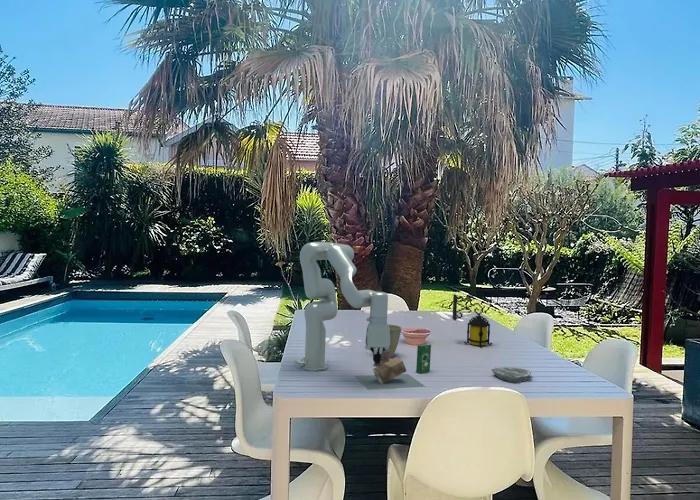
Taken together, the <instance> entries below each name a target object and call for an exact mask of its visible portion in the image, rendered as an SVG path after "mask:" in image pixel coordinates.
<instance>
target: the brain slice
mask: <svg viewBox="0 0 700 500" xmlns="http://www.w3.org/2000/svg"><path fill="white" fill-rule="evenodd" d="M491 371H492V373H493V374H494V375H495V377H497V378H498V379H500V380H501V381H505V382H509V383H521V382H525V381H528V380H529V379H530V377H531V373H532V370H528V369H525V368H521V367H512V366H509V367H508V366H495V367H494V368H491Z"/></svg>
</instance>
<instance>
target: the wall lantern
mask: <svg viewBox="0 0 700 500" xmlns="http://www.w3.org/2000/svg"><path fill="white" fill-rule="evenodd" d="M452 297H453V298H452V320H454V321H457V320H458V319H462V318H463V313H462V311H464V310H465V311H467V313H468V314H470V313H472V311H474V313H475V314H476V315H475V316H473V317H471V318H470V319H469V322H468V323H467V328H466V329H467V330H466V341H463V343H464V344H465V345H466V346H467V345H468V344H470V345H474V346H479V348H480V349H481V348H482V347H483V346H486V345H488V346H490V347H491V345H493V342H490V335H491V330H490V329H491V323H489V321H490V320H488V319H487V318H486V317H484V316H483V315H481V314H482V313H484V307H483V306H482V305H481V304H480V303H479V302H474V303H471V304H470V305H463V304H462V302H463V301H464V297H463V296H458V295H457V294H453V296H452ZM460 299H461V300H460ZM458 300H459V302H458ZM457 305H458V306H460V307H461V308H460V309H458V306H457ZM476 305H478V307H479V308H481V310H480V309H479V308H478V307H475V306H476ZM472 307H475V308H474V310H472V309H471V308H472ZM478 311H479V313H478ZM458 313H459V315H460V316H459V315H458Z"/></svg>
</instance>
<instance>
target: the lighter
mask: <svg viewBox="0 0 700 500" xmlns="http://www.w3.org/2000/svg"><path fill="white" fill-rule="evenodd" d="M376 349H377V351H378V348H376ZM388 361H390V350H384V351H383V352H382V354H381V361H380V363H375V362H374V361H373V366H374V367H378V366H380V365H382V364H384V363H386V362H388Z"/></svg>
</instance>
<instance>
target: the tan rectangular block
mask: <svg viewBox="0 0 700 500" xmlns="http://www.w3.org/2000/svg"><path fill="white" fill-rule="evenodd" d="M372 371H373V373H374V374H373V375H375V377H376V379H377V380H378V381H379V382H380V383H381V384H383V383H385V382H387V381H389V380H391V379H393V378H395V377H396V376H398V375H400V374H405V373H406V372H407V367H406V366H405V363H404V360H402V359H401V358H399V357H398V356H395V357H394V358H392V359H391V360H390V359H389V361H388V362H386V363H384V364H382V365H380V366H375V367H374V368H373V369H372Z"/></svg>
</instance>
